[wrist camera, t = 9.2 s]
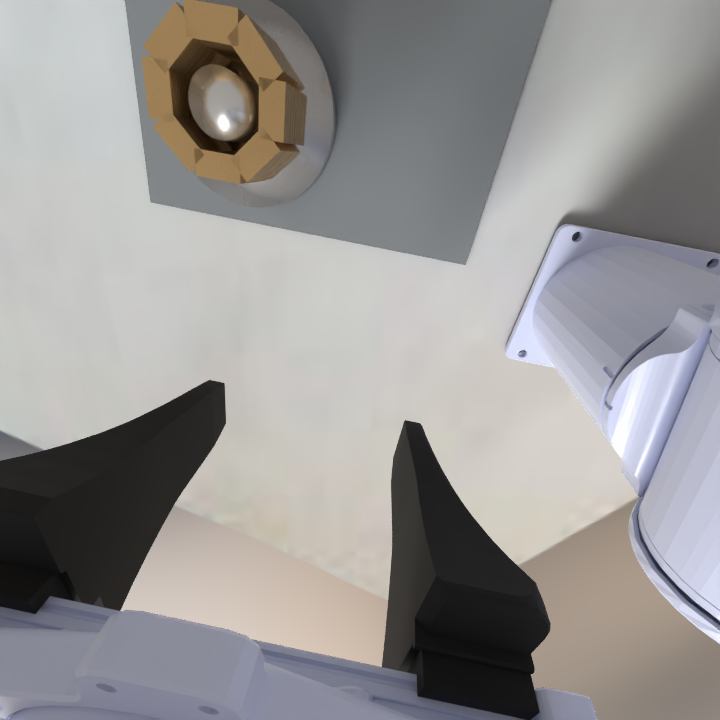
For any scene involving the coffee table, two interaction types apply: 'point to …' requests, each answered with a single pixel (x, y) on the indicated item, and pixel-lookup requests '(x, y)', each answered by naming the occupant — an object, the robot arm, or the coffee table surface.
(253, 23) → the ring
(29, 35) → the coffee table surface
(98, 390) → the coffee table surface
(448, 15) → the bench mat
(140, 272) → the coffee table surface
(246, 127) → the metal peg stand
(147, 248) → the coffee table surface
